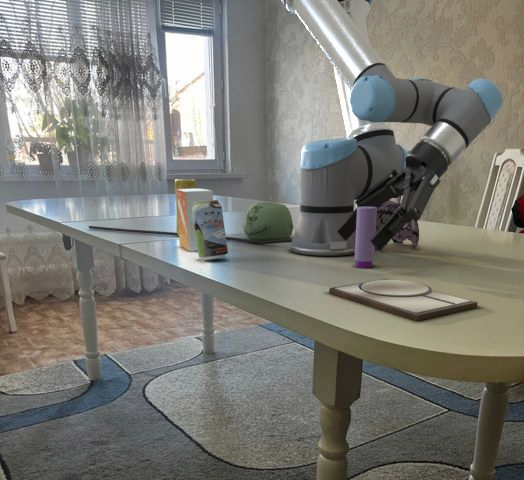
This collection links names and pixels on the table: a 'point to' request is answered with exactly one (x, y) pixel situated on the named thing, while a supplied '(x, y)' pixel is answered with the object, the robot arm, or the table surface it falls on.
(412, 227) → the decorative flower
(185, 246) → the small box
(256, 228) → the green rounded lump
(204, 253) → the green printed package
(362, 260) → the cylinder
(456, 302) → the board
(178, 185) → the vase
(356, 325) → the table surface
